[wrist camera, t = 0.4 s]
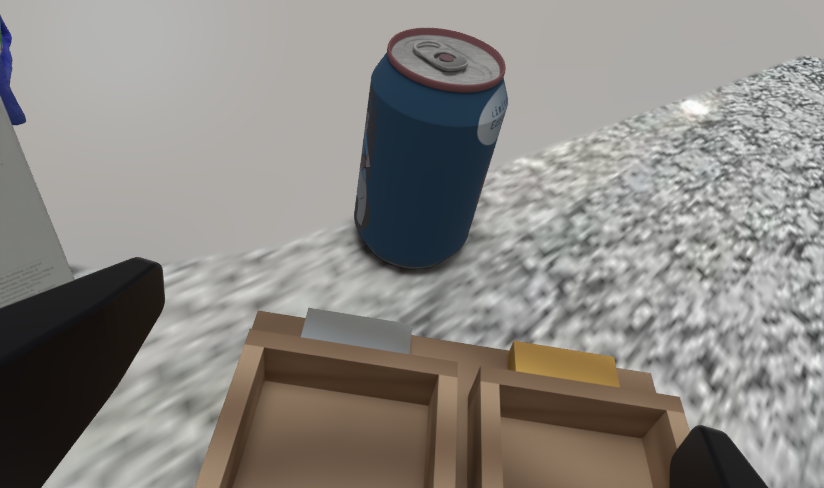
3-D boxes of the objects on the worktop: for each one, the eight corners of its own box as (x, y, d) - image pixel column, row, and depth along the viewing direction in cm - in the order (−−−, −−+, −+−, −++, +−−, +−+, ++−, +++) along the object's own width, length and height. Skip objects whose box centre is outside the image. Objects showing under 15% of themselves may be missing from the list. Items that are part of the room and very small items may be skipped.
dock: (733, 767, 20) (800, 754, 17) (134, 694, 19) (112, 669, 16) (640, 386, 31) (673, 344, 28) (258, 325, 30) (257, 276, 27)
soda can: (486, 248, 37) (547, 72, 28) (402, 295, 33) (444, 106, 24) (413, 187, 40) (449, 13, 32) (329, 223, 36) (345, 35, 28)
